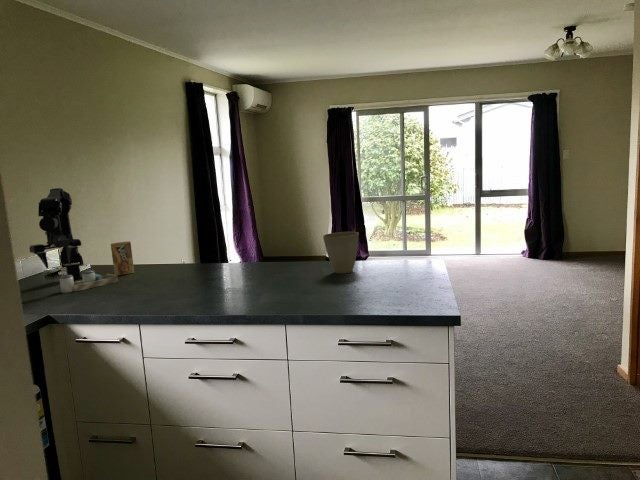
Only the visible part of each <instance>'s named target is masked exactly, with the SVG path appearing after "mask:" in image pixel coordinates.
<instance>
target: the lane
mask: <svg viewBox="0 0 640 480" xmlns="http://www.w3.org/2000/svg"><path fill="white" fill-rule="evenodd" d="M118 282H119V277H118V275H115V274H113V273H112V274H111V273H105V275H102V280H98V281H93V282H89V283H84V284H83V279H82V280H77V281H74V286H73V288H74V291H73V292H80V291H84V290H89V289H92V288H97V287H98V288H99V287H101V286H102V287H103V286H107V285H111V284H114V283H115V284H116V283H118Z"/></svg>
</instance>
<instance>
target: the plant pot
mask: <svg viewBox="0 0 640 480" xmlns="http://www.w3.org/2000/svg"><path fill="white" fill-rule="evenodd" d="M359 235H360V234H359V232H357V231H356V232H355V231H341V232H340V231H339V232H331V233H326V234H323V235H322V238H323V242H324V243H323V244H324V246H325V250H326V254H327V257H328V259H329V262H330V264H331V267H332V269H333V271H334V273H335V274H341V275H342V274H349V273H352V272H353V271H354V267H355V263H356V259H357V255H358V249H359V248H358V247H359Z"/></svg>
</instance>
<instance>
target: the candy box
mask: <svg viewBox="0 0 640 480" xmlns="http://www.w3.org/2000/svg"><path fill="white" fill-rule="evenodd" d="M110 250H111V258H112V265H113V272H114V275H117V276H120V275H121V276H122V275H127V274H128V275H129V274H135V266H134V258H133V251H132V243H131V241H130V240H127V241H118V242H111V243H110Z"/></svg>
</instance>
